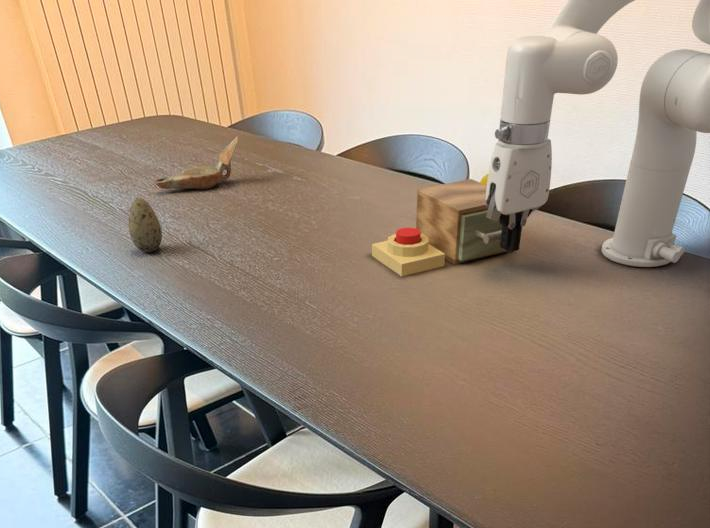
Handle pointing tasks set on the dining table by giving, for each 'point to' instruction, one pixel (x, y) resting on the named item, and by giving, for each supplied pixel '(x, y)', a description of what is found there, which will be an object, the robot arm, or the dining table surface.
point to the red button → (408, 236)
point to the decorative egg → (144, 226)
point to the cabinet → (448, 214)
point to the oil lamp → (201, 173)
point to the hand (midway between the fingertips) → (509, 248)
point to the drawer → (478, 235)
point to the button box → (408, 256)
